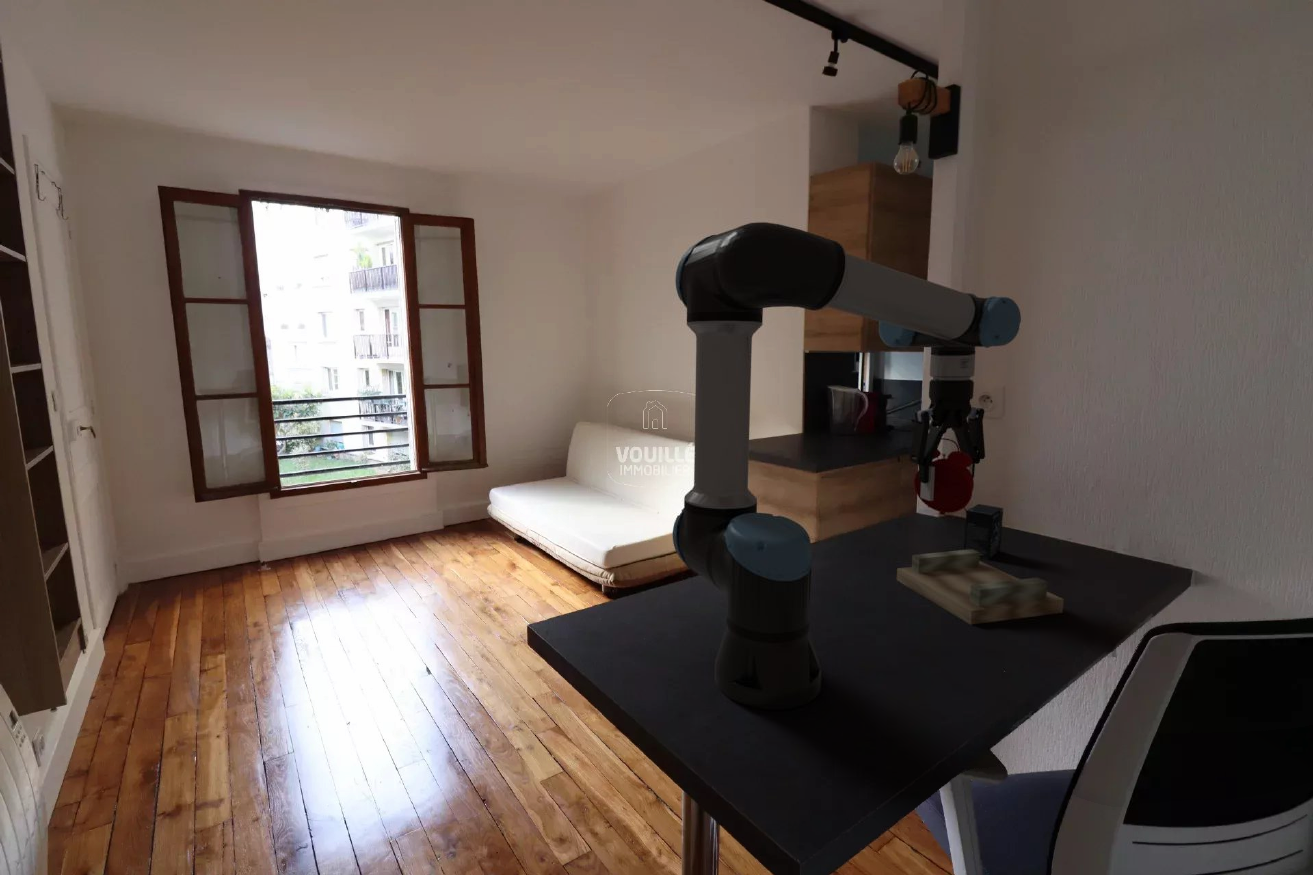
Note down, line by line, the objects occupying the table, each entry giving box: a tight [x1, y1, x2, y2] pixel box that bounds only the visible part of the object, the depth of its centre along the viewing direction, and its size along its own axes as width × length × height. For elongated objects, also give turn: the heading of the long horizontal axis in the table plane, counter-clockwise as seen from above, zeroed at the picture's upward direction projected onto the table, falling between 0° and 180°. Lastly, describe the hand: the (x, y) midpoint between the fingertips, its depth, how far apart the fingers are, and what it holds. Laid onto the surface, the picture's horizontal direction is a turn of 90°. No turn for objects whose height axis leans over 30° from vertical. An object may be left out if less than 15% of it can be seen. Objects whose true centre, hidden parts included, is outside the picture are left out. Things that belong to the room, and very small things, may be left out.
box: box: [963, 503, 1004, 561], centre depth 140 cm, size 8×6×11 cm
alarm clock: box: [913, 437, 975, 516], centre depth 117 cm, size 10×6×15 cm, turn 47°
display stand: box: [896, 549, 1065, 626], centre depth 116 cm, size 19×21×6 cm
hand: (945, 497), depth 118 cm, fingers closed on alarm clock, 8 cm apart
